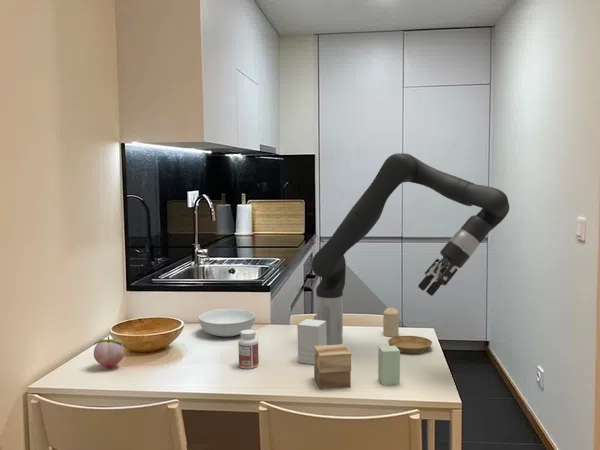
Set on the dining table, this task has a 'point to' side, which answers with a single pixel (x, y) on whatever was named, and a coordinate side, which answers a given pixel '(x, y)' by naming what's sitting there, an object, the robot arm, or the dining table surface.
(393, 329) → the candle
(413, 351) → the plant saucer
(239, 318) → the serving bowl
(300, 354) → the supplement box
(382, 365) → the sage block
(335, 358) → the oak block
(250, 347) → the pill bottle
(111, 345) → the decorative fruit
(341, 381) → the walnut block
